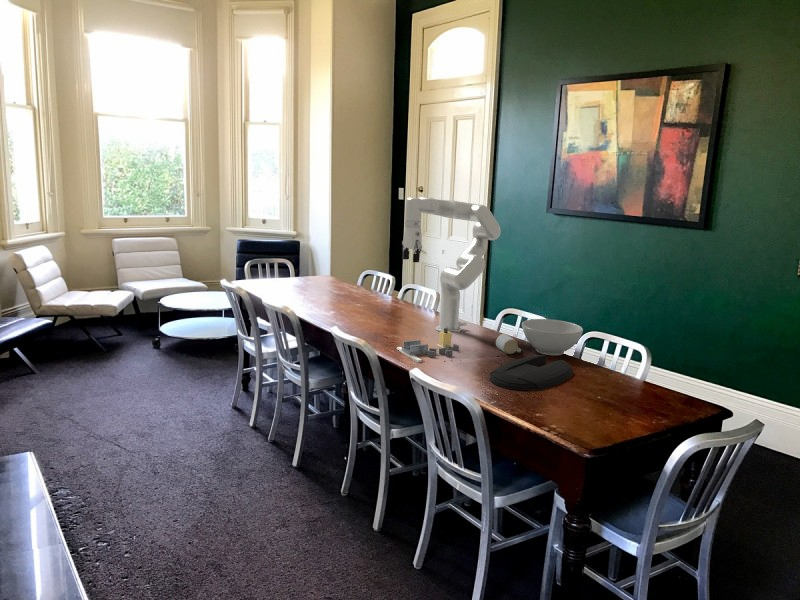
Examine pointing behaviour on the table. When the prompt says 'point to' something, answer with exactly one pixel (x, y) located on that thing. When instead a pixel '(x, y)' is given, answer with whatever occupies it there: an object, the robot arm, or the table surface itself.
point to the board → (433, 352)
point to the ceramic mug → (507, 344)
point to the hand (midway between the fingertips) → (410, 260)
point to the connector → (445, 338)
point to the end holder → (414, 347)
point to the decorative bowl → (551, 335)
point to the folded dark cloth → (531, 373)
